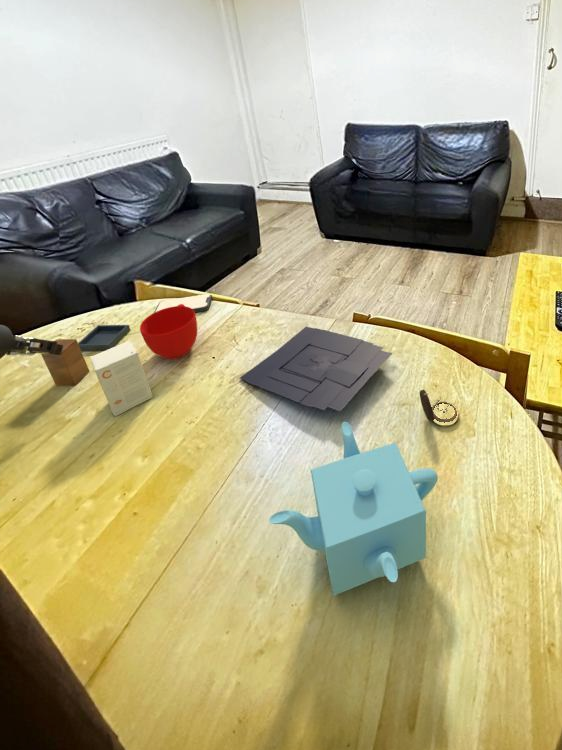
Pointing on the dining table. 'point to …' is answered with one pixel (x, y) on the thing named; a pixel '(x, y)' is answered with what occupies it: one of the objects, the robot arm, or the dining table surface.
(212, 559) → the dining table surface
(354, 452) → the teakettle
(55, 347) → the robot arm
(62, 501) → the dining table surface
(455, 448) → the dining table surface
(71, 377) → the pad block
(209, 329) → the dining table surface
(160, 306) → the phone case
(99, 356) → the small box
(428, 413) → the compass
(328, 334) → the dark grey flat slab
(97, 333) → the cradle
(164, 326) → the ceramic cup
